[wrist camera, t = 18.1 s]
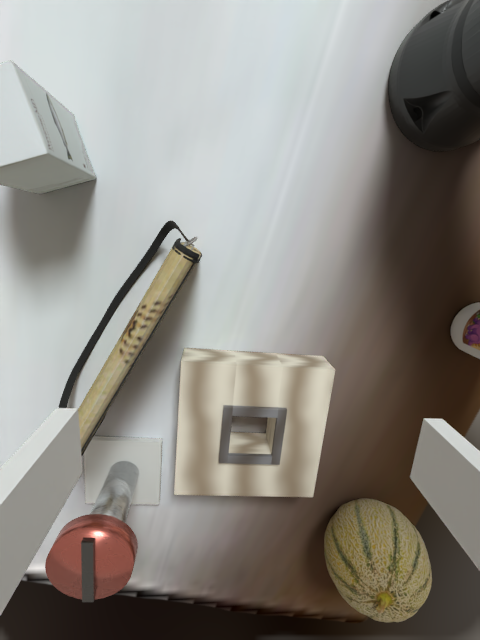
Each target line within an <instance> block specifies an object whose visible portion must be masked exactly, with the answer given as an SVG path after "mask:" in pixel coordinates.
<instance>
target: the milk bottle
mask: <svg viewBox="0 0 480 640" xmlns="http://www.w3.org/2000/svg"><path fill="white" fill-rule="evenodd" d="M451 338H452V340H453V342H454V344H455V345H456V346H457V347H458V348H459V349H460V350H462V351H464V352H466V353H468V354H470V355H472V356H474V357H476V358H478V359H480V302H478V303H473V304H470V305H468V306H466V307H465V308H463V309H462V310H461V311H460V312H458V314H457V315H456V316H455V318H454V320H453V322H452V325H451Z"/></svg>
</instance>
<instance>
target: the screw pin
mask: <svg viewBox="0 0 480 640" xmlns="http://www.w3.org/2000/svg"><path fill="white" fill-rule="evenodd" d="M138 478H139V470H138V468H137V466H136V465H135V464H133V463H131V462H129V461H119V462H116V463H115V464H113V465H112V466H111V468H110V470H109V472H108V474H107V477H106V479H105V481H104V484H103V486H102V488H101V491H100V493H99V495H98V497H97V500H96V502H95V504H94V507H93V509H92V511H91V513H90V515H85V516H81V517H78V518H76V519H74V520H72V521H70V522H69V523H67V524H66V525H65V526H64V527H63V528H62V530H61V531H60V533H59V535H58V536H57V538H56V540H55V542H54V544H53V546H52V548H51V550H50V552H49V554H48V556H47V559H46V565H45V568H46V573H47V576H48V578H49V580H50V582H51V583H52V584H53V585H54V586H55V587H56V588H57V589H58V590H59V591H61V592H62V593H64V594H66V595H68V596H71V597H74V598H78V599H82V602H94V599H101V598H105V597H108V596H110V595H113V594H115V593H117V592H118V591H120V590H121V589H122V588H123V587H124V586H125V585H126V584H127V582H128V581H129V579H130V577H131V574H132V571H133V566H134V562H135V558H136V554H137V548H138V543H137V539H136V536H135V534H134V532H133V531H132V529H131V528H130V527H129V526H128V525H127V524H125V521H126V518H127V514H128V511H129V508H130V504H131V501H132V498H133V494H134V491H135V488H136V485H137V481H138Z"/></svg>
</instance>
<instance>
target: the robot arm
mask: <svg viewBox="0 0 480 640" xmlns="http://www.w3.org/2000/svg"><path fill="white" fill-rule="evenodd" d="M389 101H390V106H391V110H392V114H393V116H394V119H395V121H396V123H397V125H398V127H399V128H400V130H401V131H402V133H403V134H404V135H405V136H406V137H407V138H408V139H409V140H410V141H412V142H413V143H414V144H416V145H418V146H420V147H422V148H424V149H427V150H432V151H450V150H454V149H457V148H460V147H463V146H466V145H469V144H472V143H474V142H476V141H478V140H480V0H449V1H446V2H444V3H443V4H441V5H439V6H438V7H436V8H435V9H433V10H432V11H431V12H429V13H428V14H427V15H426V16H425V17H424V18H423V19H422V20H421V21H420V22H419V23H418V24H417V25H416V26H415V27H414V28H413V29H412V30H411V31H410V32H409V33H408V35H407V36H406V37H405V39H404V40H403V42H402V43H401V45H400V47H399V49H398V51H397V53H396V56H395V58H394V61H393V64H392V68H391V72H390V78H389ZM82 473H83V468H82V455H81V441H80V428H79V415H78V408H56V409H55V410H54V411H53V412H52V413H51V414H50V415H49V416H48V418H47V419H46V420H45V421H44V422H43V423H42V424H41V425H40V426H39V427H38V428H37V429H36V430H35V432H34V433H33V434H32V435H31V436H30V437H29V438H28V439H27V440H26V441H25V442H24V443H23V445H22V446H21V447H20V448H19V449H18V450H17V451H16V452H15V453H14V454H13V455H12V456H11V457H10V459H9V460H8V461H7V462H6V463H5V464H4V465H3V466H2V467H1V468H0V615H1V614H2V612H3V610H4V608H5V607H6V605H7V603H8V601H9V600H10V598H11V596H12V594H13V593H14V591H15V589H16V588H17V586H18V584H19V582H20V581H21V579H22V577H23V575H24V574H25V572H26V570H27V568H28V567H29V565H30V563H31V561H32V560H33V558H34V556H35V554H36V553H37V551H38V549H39V547H40V546H41V544H42V542H43V541H44V539H45V537H46V535H47V534H48V532H49V530H50V528H51V527H52V525H53V523H54V521H55V520H56V518H57V516H58V514H59V513H60V511H61V509H62V507H63V506H64V504H65V502H66V500H67V499H68V497H69V495H70V493H71V492H72V490H73V488H74V487H75V485H76V483H77V481H78V480H79V478H80V476H81V474H82ZM410 478H411V480H412V481H413V482H414V484H415V485H416V486H417V488H418V489H419V490H420V492H421V493H422V494H423V496H424V497H425V498H426V500H427V501H428V502H429V504H430V505H431V506H432V508H433V509H434V510H435V512H436V513H437V515H438V516H439V517H440V518H441V520H442V521H443V522H444V524H445V525H446V527H447V528H448V529H449V531H450V532H451V533H452V535H453V536H454V537H455V539H456V540H457V541H458V543H459V544H460V545H461V546H462V547H463V549H464V550H465V552H466V553H467V554H468V556H469V557H470V558H471V560H472V561H473V563H474V564H475V565H476V567H477V568H478V569H479V571H480V451H479V450H478V449H476V448H475V447H474V446H473V445H472V444H471V443H470V442H468V441H467V440H466V439H465V438H464V437H463V436H462V435H460V434H459V433H458V432H457V431H456V430H455V429H454V428H452V427H451V426H450V425H449V424H448V423H447V422H445V421H444V420H443V419H431V418H424V419H423V423H422V427H421V432H420V436H419V440H418V445H417V449H416V453H415V457H414V462H413V466H412V470H411V475H410Z"/></svg>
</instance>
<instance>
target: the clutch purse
mask: <svg viewBox="0 0 480 640" xmlns="http://www.w3.org/2000/svg"><path fill="white" fill-rule="evenodd" d="M174 228H176V229H178V230H179V231H180V233H181V234H182V235H183V237H184V238H185V240H186V242H187V243H186V242H181V243H180V240H181V238H179V239H177V240H176V242H175V243H174V245H173V247H172V249H171V251H170V252H169V254H168V256H167V258H166V259H165V261H164V263H163V264H162V266H161V268H160V270H159V271H158V273H157V275H156V276H155V278H154V280H153V282H152V283H151V285H150V287H149V289H148V290H147V292H146V294H145V295H144V297H143V299H142V301H141V302H140V304H139V306H138V307H137V309H136V311H135V313H134V314H133V316H132V318H131V320H130V321H129V323H128V325H127V326H126V328H125V330H124V332H123V333H122V335H121V337H120V338H119V340H118V342H117V344H116V345H115V347H114V349H113V350H112V352H111V354H110V356H109V357H108V359H107V361H106V363H105V364H104V366H103V368H102V369H101V371H100V373H99V375H98V376H97V378H96V380H95V381H94V383H93V385H92V387H91V388H90V390H89V392H88V394H87V395H86V397H85V399H84V400H83V402H82V404H81V406H80V407H79V409H78V415H79V428H80V441H81V455H83V454H84V452H85V450H86V449H87V447H88V445H89V443H90V441H91V440H92V438H93V436H94V434H95V433H96V431H97V429H98V428H99V426H100V424H101V423H102V421H103V419H104V418H105V415H106V413H107V411H108V409H109V407H110V406H111V404H112V402H113V401H114V399H115V397H116V396H117V394H118V392H119V391H120V389H121V387H122V386H123V384H124V382H125V381H126V379H127V377H128V376H129V374H130V372H131V371H132V369H133V367H134V366H135V364H136V362H137V361H138V359H139V357H140V356H141V354H142V352H143V351H144V349H145V347H146V346H147V344H148V342H149V341H150V339H151V337H152V336H153V334H154V332H155V331H156V329H157V327H158V326H159V324H160V323H161V321H162V319H163V318H164V316H165V314H166V313H167V311H168V309H169V308H170V306H171V304H172V303H173V301H174V299H175V298H176V296H177V294H178V293H179V291H180V289H181V288H182V286H183V284H184V283H185V281H186V279H187V278H188V276H189V274H190V273H191V271H192V269H193V268H194V266H195V264H196V263H198V262H199V261H200V258H201V257H202V254H201V252H200V251H199V250H197V249H196V248H195V247H194V245H193V244H192V243H193V242H194V241H196V240H197V237H194V238H192V239H191V240H188V239H187V238H186V237H185V235H184V234H183V233H182V231H181V230H180V229H179V227H178V226H177V225H176V223H175V222H173V221H168V222H167V223H166V224H165V225H164V226H163V228H162V229H161V231H160V232H159V234H158V235H157V237H156V239H155V240H154V242H153V243H152V245H151V247H150V248H149V250H148V251H147V253H146V254H145V256H144V257H143V258H142V260H141V261H140V263H139V264H138V265H137V267H136V268H135V270H134V271H133V272H132V274H131V275H130V276H129V278H128V279H127V280H126V282H125V283H124V285H123V286H122V287H121V289H120V290H119V292H118V293H117V295H116V296H115V298H114V299H113V301H112V303H111V304H110V306H109V308H108V309H107V311H106V313H105V315H104V317H103V318H102V320H101V322H100V324H99V325H98V327H97V329H96V330H95V332H94V334H93V335H92V337H91V339H90V340H89V342H88V344H87V345H86V347H85V349H84V351H83V352H82V354H81V356H80V358H79V359H78V361H77V363H76V365H75V366H74V368H73V370H72V372H71V374H70V376H69V379H68V381H67V383H66V386H65V389H64V391H63V394H62V397H61V401H60V404H59V408H66V407H67V403H68V399H69V396H70V393H71V390H72V387H73V385H74V382H75V380H76V378H77V376H78V373H79V372H80V370H81V368H82V366H83V364H84V363H85V361H86V359H87V358H88V356H89V354H90V352H91V351H92V349H93V347H94V345H95V344H96V342H97V340H98V339H99V337H100V335H101V334H102V332H103V330H104V328H105V327H106V325H107V323H108V322H109V320H110V318H111V316H112V315H113V313H114V311H115V310H116V308H117V306H118V305H119V303H120V302H121V300H122V299H123V297H124V296H125V294H126V293H127V291H128V290H129V289H130V287H131V286H132V285H133V283H134V282H135V280H136V279H137V278H138V276H139V275H140V274H141V272H142V271H143V270H144V268H145V267H146V266H147V264H148V263H149V261H150V260H151V258H152V257H153V256H154V254H155V253H156V251H157V250H158V248H159V246H160V245H161V243H162V242H163V240H164V239H165V237H166V236H167V234H168V233H169V232H170V231H171V230H172V229H174ZM192 240H193V241H192ZM191 245H193V246H191Z"/></svg>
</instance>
